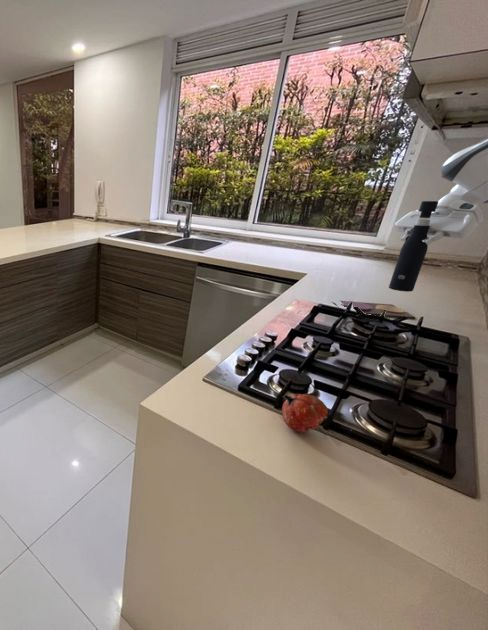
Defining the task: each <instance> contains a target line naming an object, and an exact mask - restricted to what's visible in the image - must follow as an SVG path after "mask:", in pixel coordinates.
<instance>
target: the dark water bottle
mask: <svg viewBox="0 0 488 630" xmlns="http://www.w3.org/2000/svg"><path fill="white" fill-rule="evenodd" d="M438 201H439V200H438ZM438 201H436V200H422V201H421V202H420V206H419V209H418V210H419V212H421V214H420V217H419V218H430V216H431V213H432V212H435V210H436V207H437V205H438ZM429 222H430V220H425V219H418V220H417V223H416V225H414V228H413V231H412V233H411V235H409V237H408V238H407V240H406V241H405V242H403V244H402V246H401V248H400V251H399V254H398V257H397V260H396V263H395V265H394V269H393V273H392V276H391V279H390V281H389V282H390V283H389V285H388V289H390V290H392V291H397V292H407V293H408V292H410V293H411V292H413V291H414V289H415V286H416V284H417V280H418V278H419V276H420V275H419V274H420V272H421V269H422V266H423V264H424V261H425V257H426V255H427V251H428V249H429V245H426V244H424V243H423V242H422V241H423V240H424V239H425V238H426V237H428V235H427V233H428V230H429V227H430V226H429V224H430V223H429Z"/></svg>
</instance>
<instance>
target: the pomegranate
mask: <svg viewBox="0 0 488 630" xmlns="http://www.w3.org/2000/svg"><path fill="white" fill-rule="evenodd" d="M281 398H282V399H283V398H284V399H286V400H285V401H284V402H283V403H282V407H281V411H282V413H281V415H282V420H283V421H284V423H285V425H286V426H287V427H288V428H289V429H291V430H293V431H294V432H296V433H300V434H301V433H302V434H306V433H307V432H308V431H309V430H315V429H318V430H319V431H320V432H321V433H322V434H324V435H325V436H327V433H326V432H324V431H323V429H322V428H321V427H320V425H321V424H322V423H323V422H324V421H325V419H326V417H327V415H328V414H329V409H328V407H327V404H326V403H325V402H324V401H323V400H321V399H320V398H318V397H317V396H315V395H311V394H308V393H303V394H301V393H295V394H294V395H292V396H289V395H287V394H284V395H283V396H282V397H281Z"/></svg>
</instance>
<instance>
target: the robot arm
mask: <svg viewBox="0 0 488 630" xmlns="http://www.w3.org/2000/svg"><path fill="white" fill-rule="evenodd" d="M440 170H441V178H443V179H445V180H447V181H449V182H450V183H451V182H452V183H454V184H455V185H454V186H453V187H452V188H451V190H450V191H449V192H448V193H447V194H445V195H444V196H442V197H441V198H440V199H439V200H438V205H437V207H436V210H435V212H432V213H431V216H430V218H419V217H420V214H421V212H419V209H416V210H411V211H410V212H408V213H407V214H405V215H404V216H402V217H401V218H399V220H397V221H396V222H395V223H394V227H395V230H396V231H397V232H399V233H404V235H402V237H400V240H401V242H403V243H405V241H406V240H407V238H408V237H409V236H410V235H411V233H412V231H413V228H414V225H416V223H417V220H418V219H425V220H430V222H429V223H430V224H429V226H430V227H429V230H428V233H427V237H426V238H425V239H424V240H423V241H422V242H423V243H424V244H426V245H428V246H430V245H431V244H432V243H433V242H436V241H439V240H441V239H443V238H453V239H459V240H460V239H464V238H466V237H469V236H470V235H471V234H472V233H473V232H475V230H476V229H477V228H478V226H479V224H481V223H482V222H484V215H483V212H482V209H481V208H480V206H479V204H488V137H485V138H484V139H482V140H480V141H478V142H476V143H474V144H472V145H469V146H467V147H465V148H464V149H460V150H459V151H457V152H455V153H454V154H452V155H451V156H450V157H449V158H447V160H446V161H444V163H443V164H441V169H440ZM429 236H430V237H429Z"/></svg>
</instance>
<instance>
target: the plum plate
mask: <svg viewBox="0 0 488 630" xmlns="http://www.w3.org/2000/svg"><path fill="white" fill-rule="evenodd" d="M344 301H345V302H342V304H341V305H342V306H344V307H347V306H348V304H349V303H350V302H353V307H354V306H356V307H358V308H360V309H361V310H362V311H370V310H372V306H370V305H368V304H364V303H365V302H364V303H360V302H361V301H352V300H351V301H350V300H349V301H348V300H347V301H346V300H344Z"/></svg>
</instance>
